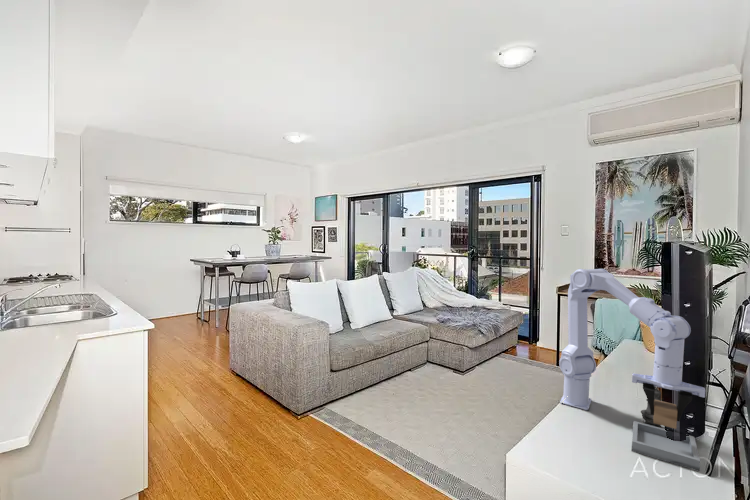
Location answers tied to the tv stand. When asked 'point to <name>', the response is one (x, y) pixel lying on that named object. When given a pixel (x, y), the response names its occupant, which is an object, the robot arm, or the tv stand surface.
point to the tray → (664, 446)
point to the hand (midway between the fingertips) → (664, 416)
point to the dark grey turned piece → (647, 413)
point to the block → (665, 414)
